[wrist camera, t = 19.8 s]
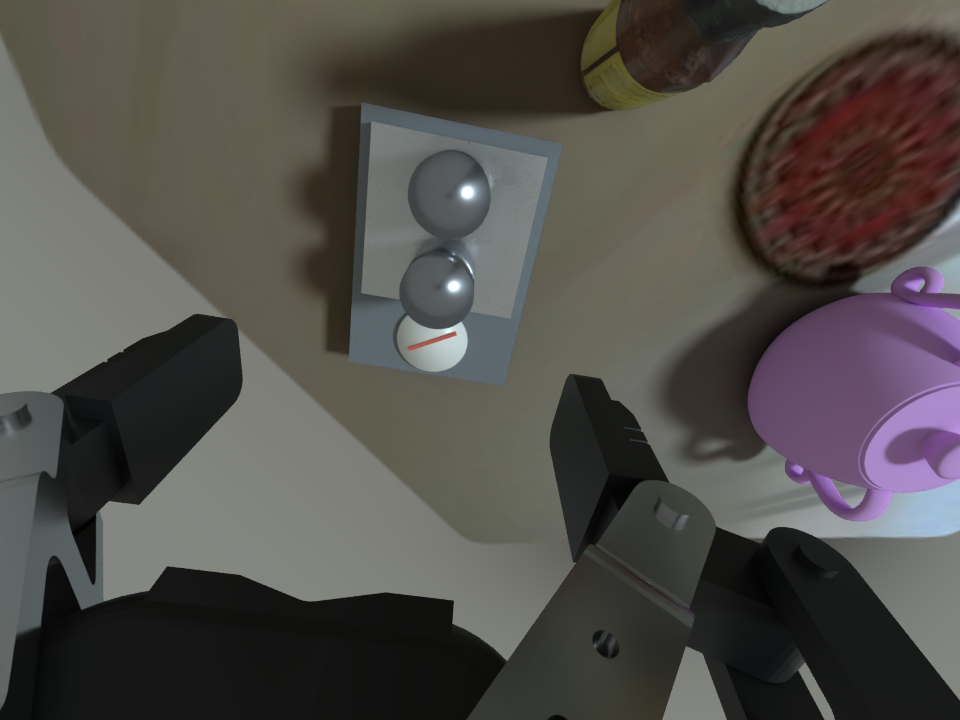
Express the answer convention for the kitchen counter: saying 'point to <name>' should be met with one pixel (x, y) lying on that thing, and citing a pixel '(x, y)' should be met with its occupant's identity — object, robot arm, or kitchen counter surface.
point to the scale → (478, 337)
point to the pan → (490, 245)
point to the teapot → (866, 394)
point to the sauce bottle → (671, 45)
